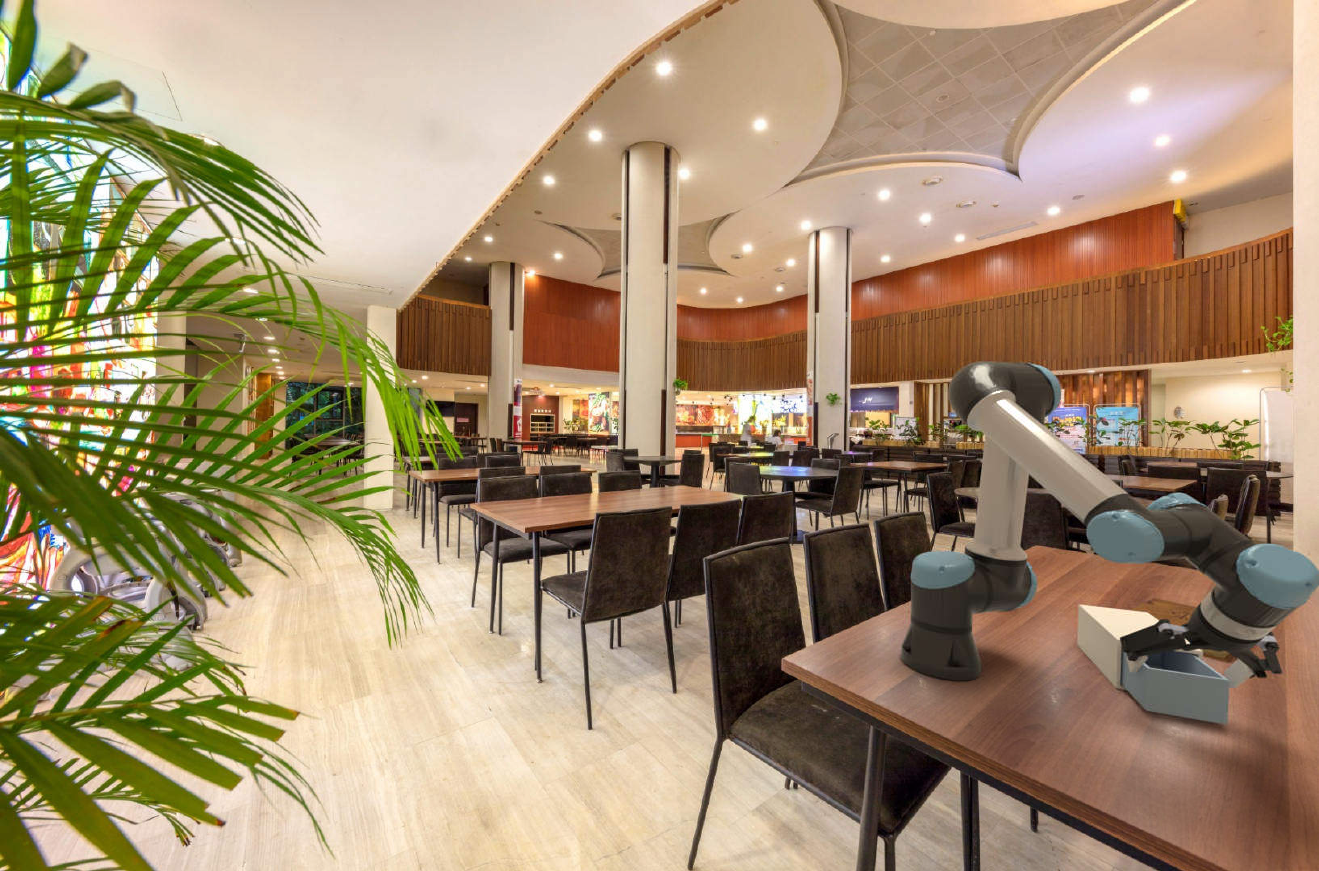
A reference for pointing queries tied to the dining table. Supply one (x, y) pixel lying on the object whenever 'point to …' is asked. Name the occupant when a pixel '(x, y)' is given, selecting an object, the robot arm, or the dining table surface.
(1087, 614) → the mailer sleeve
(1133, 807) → the dining table surface
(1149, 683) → the tray
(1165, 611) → the diary
